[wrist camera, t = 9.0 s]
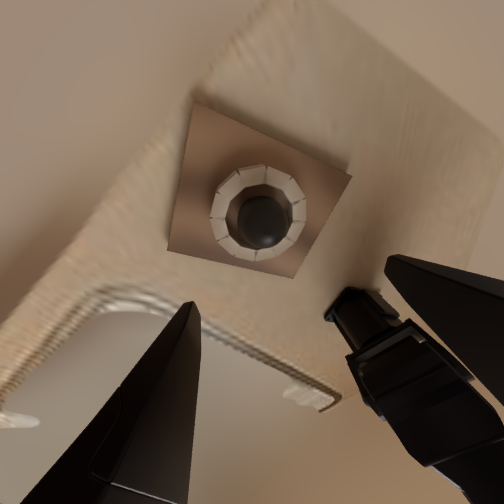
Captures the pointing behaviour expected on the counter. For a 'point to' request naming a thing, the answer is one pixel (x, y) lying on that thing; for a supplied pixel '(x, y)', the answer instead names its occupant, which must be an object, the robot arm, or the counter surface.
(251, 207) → the egg
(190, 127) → the egg stand
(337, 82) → the counter surface
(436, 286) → the robot arm
